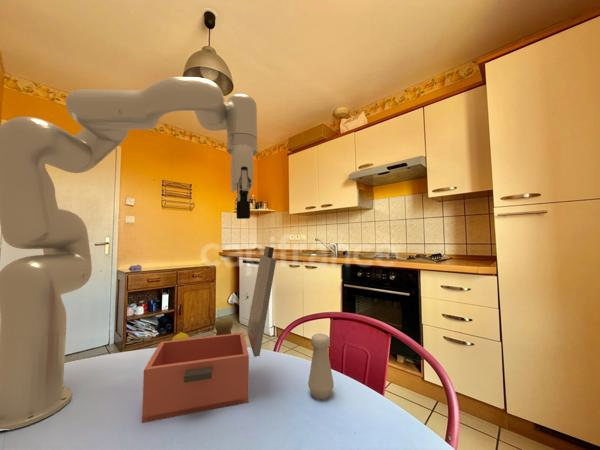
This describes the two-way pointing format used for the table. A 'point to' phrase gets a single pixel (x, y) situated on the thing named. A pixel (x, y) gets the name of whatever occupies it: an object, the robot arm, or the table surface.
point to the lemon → (180, 336)
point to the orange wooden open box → (195, 376)
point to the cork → (223, 326)
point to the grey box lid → (261, 300)
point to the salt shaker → (320, 368)
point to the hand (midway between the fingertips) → (243, 218)
